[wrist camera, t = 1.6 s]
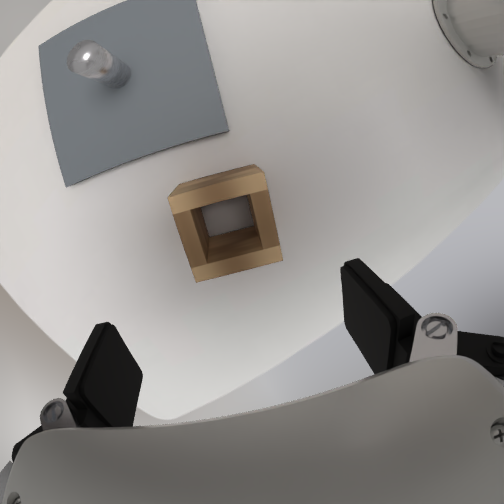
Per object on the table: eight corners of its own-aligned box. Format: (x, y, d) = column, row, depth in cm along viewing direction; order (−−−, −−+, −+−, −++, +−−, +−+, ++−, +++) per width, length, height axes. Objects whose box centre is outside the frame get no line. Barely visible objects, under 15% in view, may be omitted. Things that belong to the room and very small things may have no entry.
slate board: (191, -13, 17) (190, -20, 16) (228, 131, 24) (229, 130, 22) (45, 48, 17) (38, 46, 16) (72, 184, 24) (65, 187, 22)
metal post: (128, 59, 19) (96, 33, 12) (133, 81, 20) (100, 62, 13) (104, 69, 19) (64, 49, 12) (108, 92, 19) (69, 78, 13)
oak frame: (254, 164, 25) (263, 171, 20) (270, 234, 28) (283, 260, 22) (178, 184, 25) (167, 197, 19) (200, 253, 28) (196, 282, 22)
